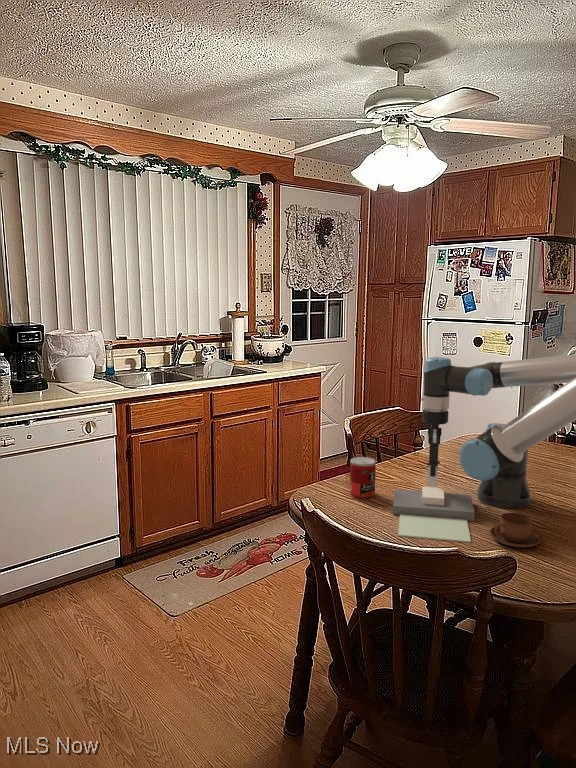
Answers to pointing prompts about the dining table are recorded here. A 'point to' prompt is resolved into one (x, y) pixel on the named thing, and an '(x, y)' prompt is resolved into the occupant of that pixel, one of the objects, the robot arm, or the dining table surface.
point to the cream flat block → (432, 496)
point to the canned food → (362, 477)
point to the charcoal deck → (452, 508)
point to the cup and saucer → (515, 531)
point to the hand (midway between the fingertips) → (432, 485)
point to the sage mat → (434, 528)
